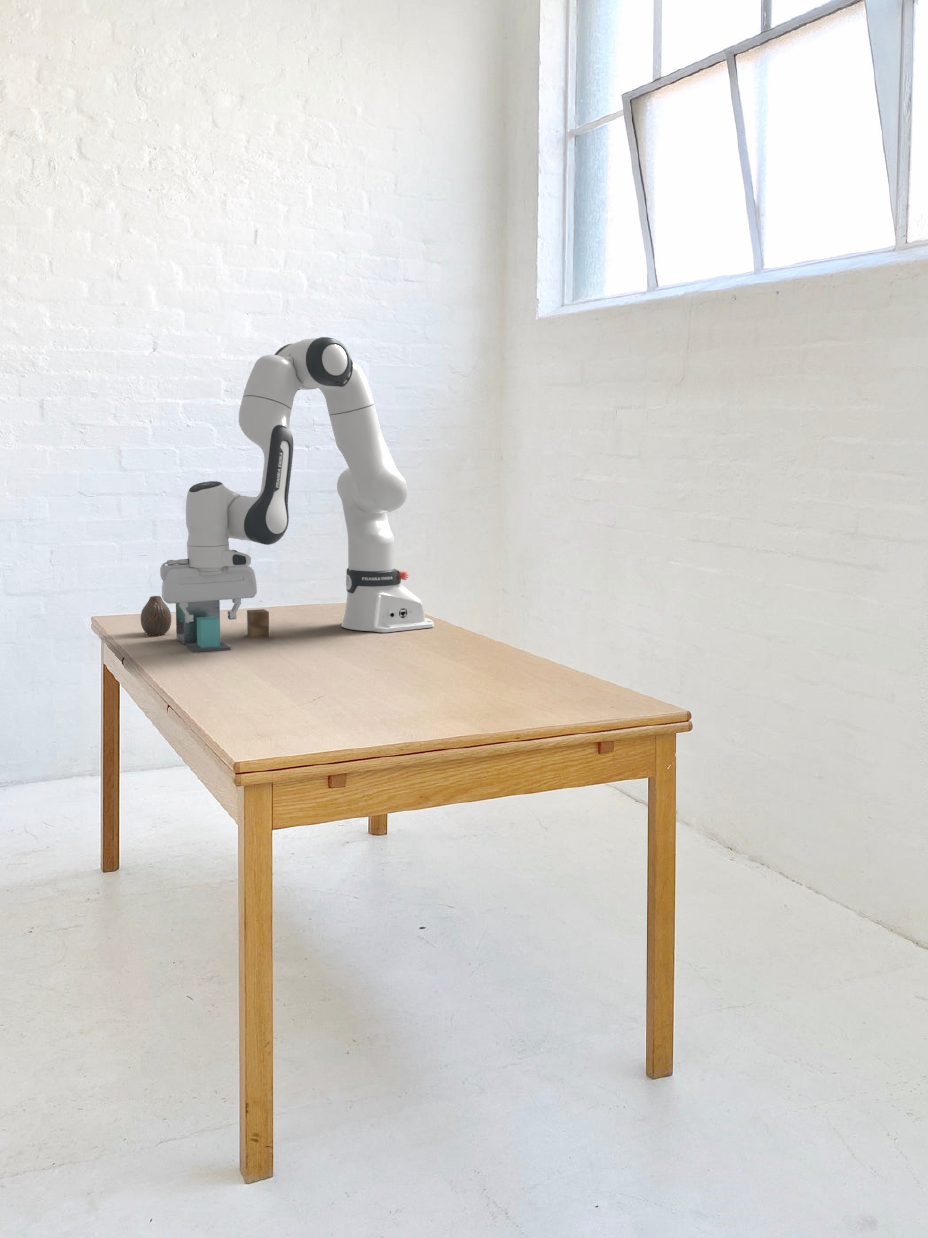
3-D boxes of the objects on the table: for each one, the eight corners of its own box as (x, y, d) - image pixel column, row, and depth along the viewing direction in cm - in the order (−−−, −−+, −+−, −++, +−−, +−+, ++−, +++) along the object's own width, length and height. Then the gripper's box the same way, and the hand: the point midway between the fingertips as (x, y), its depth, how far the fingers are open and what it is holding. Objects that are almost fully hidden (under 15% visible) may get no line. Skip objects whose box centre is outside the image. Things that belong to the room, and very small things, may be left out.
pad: (222, 644, 266) (222, 641, 266) (230, 649, 259) (230, 647, 259) (186, 646, 262) (186, 643, 262) (193, 652, 256) (193, 649, 256)
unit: (212, 636, 275) (211, 593, 273) (221, 642, 267) (220, 598, 266) (175, 638, 271) (174, 595, 269) (183, 645, 264) (182, 600, 262)
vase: (167, 637, 273) (166, 599, 272) (137, 636, 273) (136, 598, 272) (175, 631, 280) (174, 594, 278) (145, 631, 280) (144, 594, 278)
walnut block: (264, 634, 278) (263, 609, 277) (269, 637, 275) (268, 611, 274) (247, 635, 277) (247, 610, 276) (252, 638, 273) (251, 612, 272)
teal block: (215, 643, 263) (214, 616, 262) (219, 646, 260) (219, 619, 259) (197, 644, 262) (196, 617, 261) (201, 647, 258) (201, 620, 257)
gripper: (163, 562, 250) (166, 627, 253) (258, 556, 259) (260, 619, 261) (156, 558, 256) (159, 622, 258) (249, 553, 265) (251, 615, 267)
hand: (210, 620), depth 260 cm, fingers open, 8 cm apart
